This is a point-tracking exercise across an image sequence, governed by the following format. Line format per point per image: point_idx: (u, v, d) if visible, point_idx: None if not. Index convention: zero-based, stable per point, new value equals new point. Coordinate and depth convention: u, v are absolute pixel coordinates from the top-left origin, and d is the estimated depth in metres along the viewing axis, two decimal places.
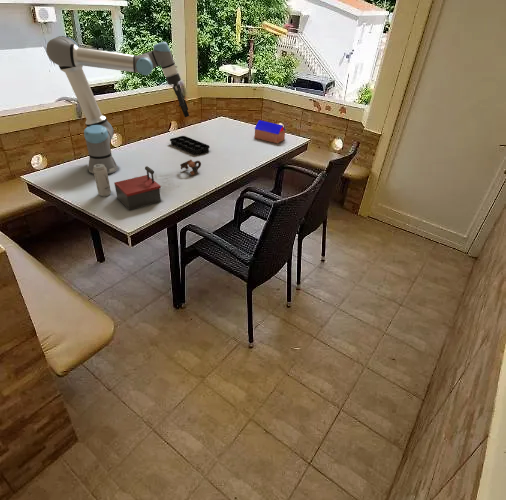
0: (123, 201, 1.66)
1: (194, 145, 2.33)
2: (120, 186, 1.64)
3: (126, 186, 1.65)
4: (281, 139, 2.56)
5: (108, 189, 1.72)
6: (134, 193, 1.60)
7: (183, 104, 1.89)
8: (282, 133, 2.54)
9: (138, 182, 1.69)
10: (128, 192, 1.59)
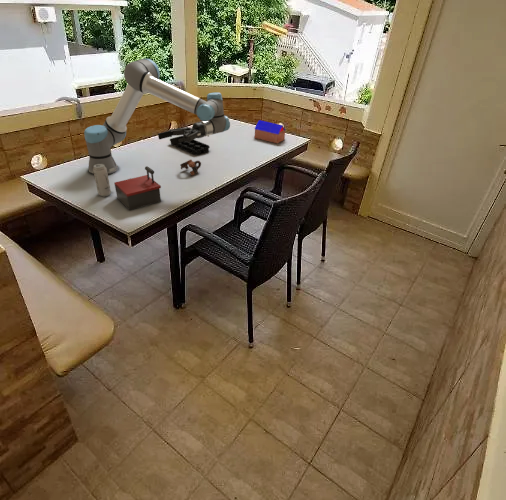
0: (123, 201, 1.66)
1: (194, 145, 2.33)
2: (120, 186, 1.64)
3: (126, 186, 1.65)
4: (281, 139, 2.56)
5: (108, 189, 1.72)
6: (134, 193, 1.60)
7: (187, 140, 1.65)
8: (282, 133, 2.54)
9: (138, 182, 1.69)
10: (128, 192, 1.59)
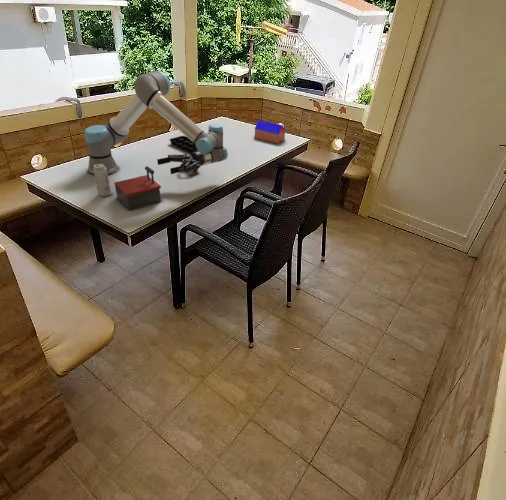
0: (123, 201, 1.66)
1: (194, 145, 2.33)
2: (120, 186, 1.64)
3: (126, 186, 1.65)
4: (281, 139, 2.56)
5: (108, 189, 1.72)
6: (134, 193, 1.60)
7: (187, 171, 1.70)
8: (282, 133, 2.54)
9: (138, 182, 1.69)
10: (128, 192, 1.59)
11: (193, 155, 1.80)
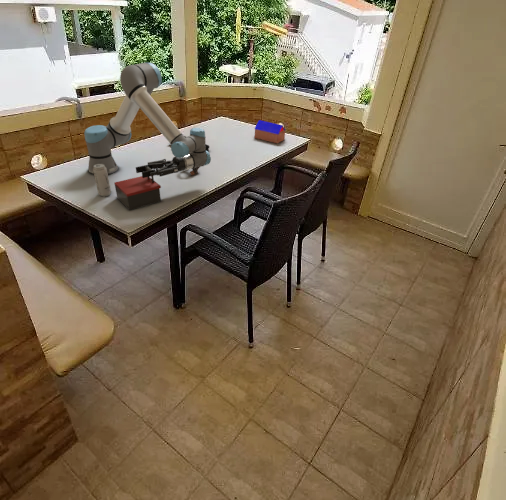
0: (123, 201, 1.66)
1: None
2: (120, 186, 1.64)
3: (126, 186, 1.65)
4: (281, 139, 2.56)
5: (108, 189, 1.72)
6: (134, 193, 1.60)
7: (159, 175, 1.65)
8: (282, 133, 2.54)
9: (138, 182, 1.69)
10: (128, 192, 1.59)
11: (174, 160, 1.74)
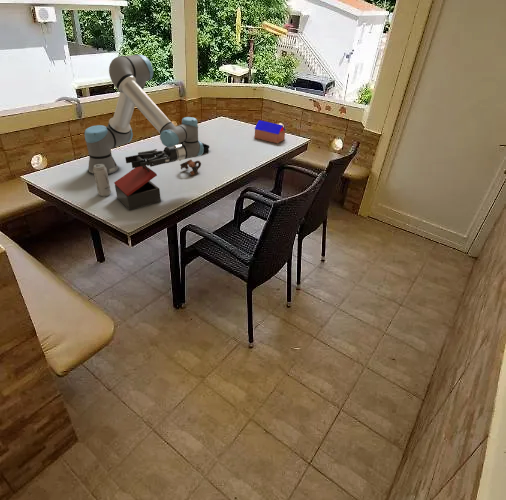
0: (123, 201, 1.66)
1: None
2: (119, 186, 1.64)
3: (125, 183, 1.64)
4: (281, 139, 2.56)
5: (108, 189, 1.72)
6: (133, 190, 1.59)
7: (150, 165, 1.60)
8: (282, 133, 2.54)
9: (135, 175, 1.66)
10: (127, 192, 1.59)
11: (165, 150, 1.69)
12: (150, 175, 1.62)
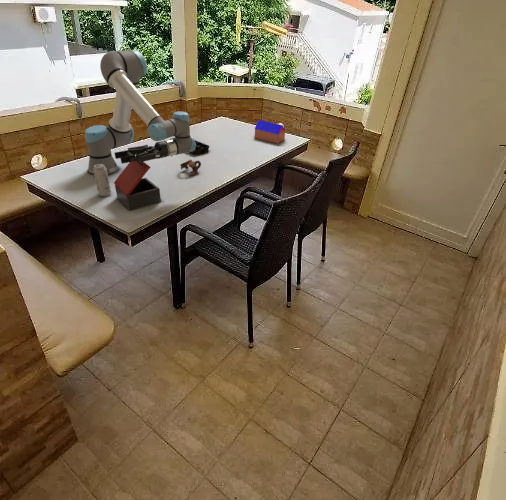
0: (123, 201, 1.66)
1: None
2: (119, 186, 1.64)
3: (123, 182, 1.63)
4: (281, 139, 2.56)
5: (108, 189, 1.72)
6: (131, 189, 1.58)
7: (139, 160, 1.56)
8: (282, 133, 2.54)
9: (130, 171, 1.64)
10: (126, 192, 1.59)
11: (156, 145, 1.65)
12: (144, 169, 1.59)
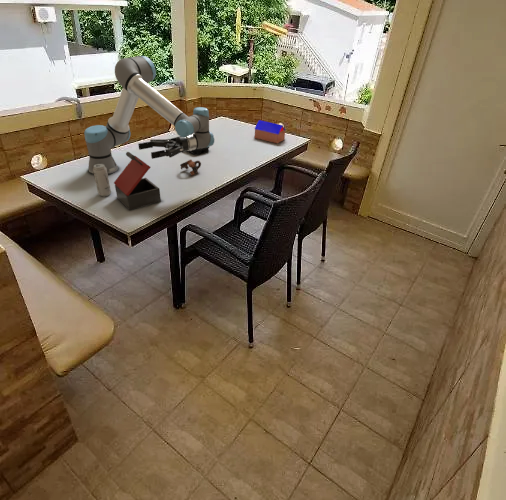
0: (123, 201, 1.66)
1: None
2: (119, 186, 1.64)
3: (123, 182, 1.63)
4: (281, 139, 2.56)
5: (108, 189, 1.72)
6: (131, 189, 1.58)
7: (169, 156, 1.60)
8: (282, 133, 2.54)
9: (130, 171, 1.64)
10: (126, 192, 1.59)
11: (177, 140, 1.70)
12: (144, 169, 1.59)
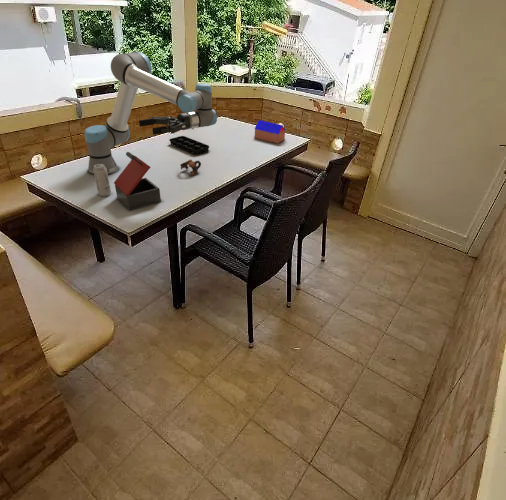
0: (123, 201, 1.66)
1: (194, 145, 2.33)
2: (119, 186, 1.64)
3: (123, 182, 1.63)
4: (281, 139, 2.56)
5: (108, 189, 1.72)
6: (131, 189, 1.58)
7: (171, 132, 1.55)
8: (282, 133, 2.54)
9: (130, 171, 1.64)
10: (126, 192, 1.59)
11: (179, 117, 1.65)
12: (144, 169, 1.59)
